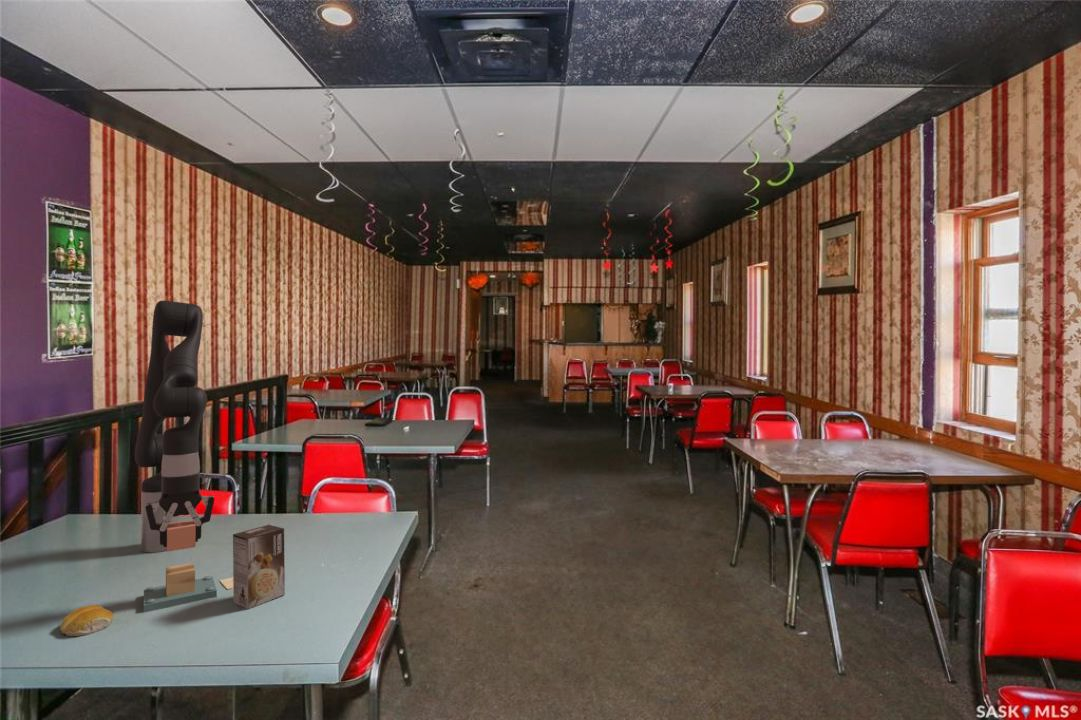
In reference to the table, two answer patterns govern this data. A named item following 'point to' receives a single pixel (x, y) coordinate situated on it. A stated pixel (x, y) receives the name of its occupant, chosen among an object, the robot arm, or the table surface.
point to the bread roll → (86, 621)
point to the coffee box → (258, 566)
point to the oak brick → (180, 579)
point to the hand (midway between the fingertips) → (180, 543)
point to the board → (159, 599)
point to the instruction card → (227, 583)
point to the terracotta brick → (181, 535)
